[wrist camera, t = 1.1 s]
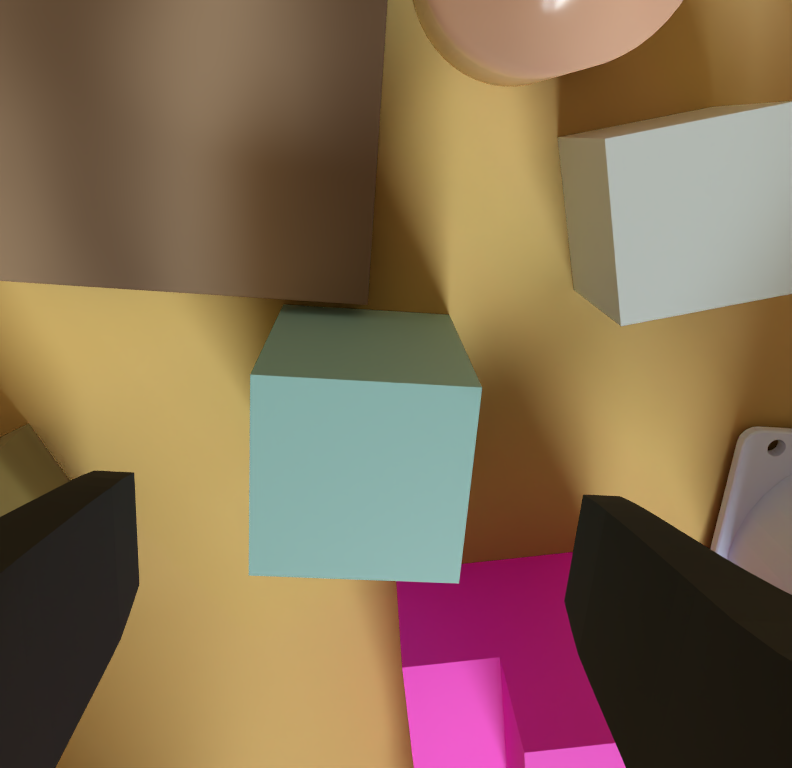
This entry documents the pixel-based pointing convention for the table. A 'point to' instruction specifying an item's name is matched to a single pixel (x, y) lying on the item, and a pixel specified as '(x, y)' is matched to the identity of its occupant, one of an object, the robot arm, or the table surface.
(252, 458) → the teal block
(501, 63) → the peach rounded piece
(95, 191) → the board
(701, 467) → the table surface
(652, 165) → the grey cube
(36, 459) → the olive block
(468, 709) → the toy block
